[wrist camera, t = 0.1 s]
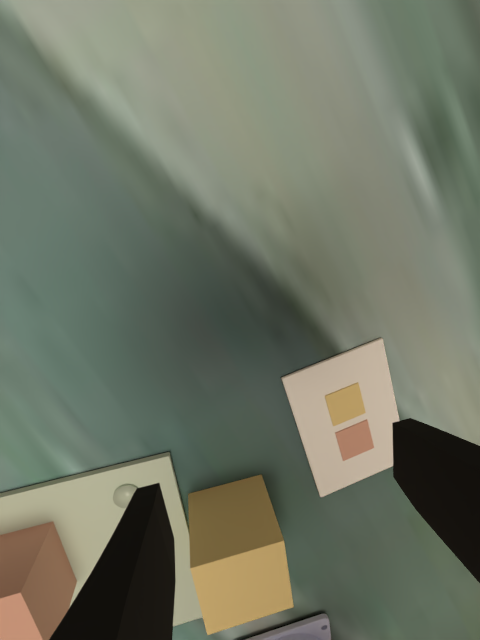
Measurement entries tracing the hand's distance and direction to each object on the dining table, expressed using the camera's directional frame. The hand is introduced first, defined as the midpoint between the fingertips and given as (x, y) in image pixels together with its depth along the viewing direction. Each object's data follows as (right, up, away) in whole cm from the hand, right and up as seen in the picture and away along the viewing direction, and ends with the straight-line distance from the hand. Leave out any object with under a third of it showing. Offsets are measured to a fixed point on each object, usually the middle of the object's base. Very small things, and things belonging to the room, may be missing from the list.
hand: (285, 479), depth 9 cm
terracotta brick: (-15, -10, +10) cm, 20 cm away
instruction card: (+6, -2, +12) cm, 14 cm away
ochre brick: (-2, -9, +12) cm, 15 cm away
